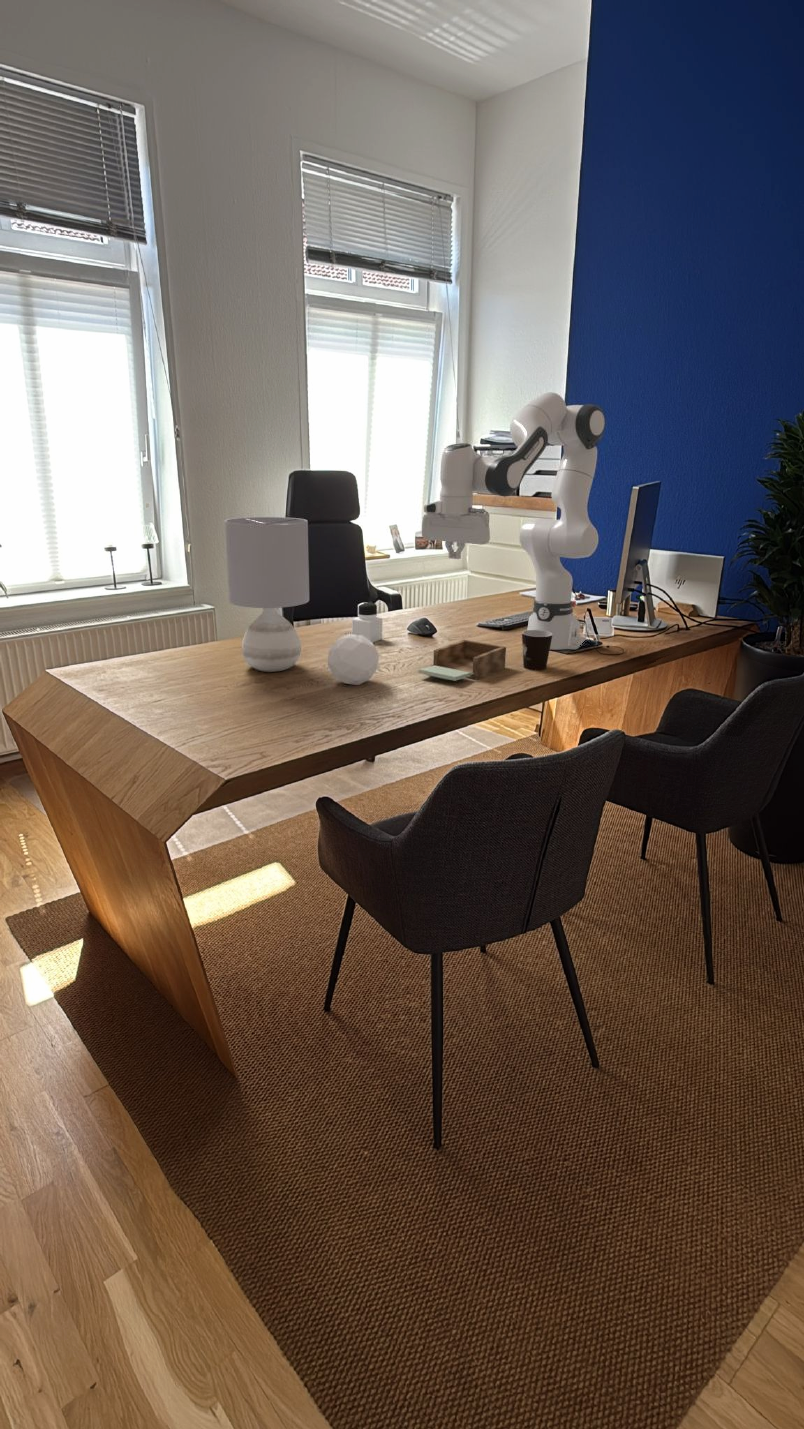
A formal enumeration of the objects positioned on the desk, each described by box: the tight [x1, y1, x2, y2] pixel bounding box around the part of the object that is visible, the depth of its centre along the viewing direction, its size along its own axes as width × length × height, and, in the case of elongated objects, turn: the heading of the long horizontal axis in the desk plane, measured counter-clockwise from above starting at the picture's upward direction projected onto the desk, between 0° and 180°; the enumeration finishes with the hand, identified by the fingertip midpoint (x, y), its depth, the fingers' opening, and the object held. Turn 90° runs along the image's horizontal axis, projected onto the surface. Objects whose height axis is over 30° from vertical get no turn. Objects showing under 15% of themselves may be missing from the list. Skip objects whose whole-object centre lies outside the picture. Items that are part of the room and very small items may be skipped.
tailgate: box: [418, 665, 471, 682], centre depth 212 cm, size 1×12×8 cm
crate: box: [430, 639, 507, 680], centre depth 221 cm, size 17×14×6 cm
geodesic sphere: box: [327, 631, 380, 686], centre depth 206 cm, size 14×14×14 cm
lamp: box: [224, 516, 310, 673], centre depth 214 cm, size 22×22×40 cm
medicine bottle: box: [351, 602, 383, 644], centre depth 251 cm, size 7×7×12 cm
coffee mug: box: [521, 629, 553, 671], centre depth 225 cm, size 12×9×10 cm
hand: (454, 558), depth 217 cm, fingers closed
